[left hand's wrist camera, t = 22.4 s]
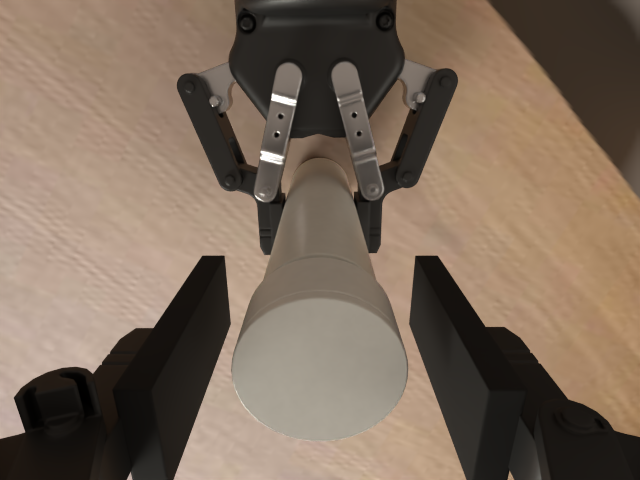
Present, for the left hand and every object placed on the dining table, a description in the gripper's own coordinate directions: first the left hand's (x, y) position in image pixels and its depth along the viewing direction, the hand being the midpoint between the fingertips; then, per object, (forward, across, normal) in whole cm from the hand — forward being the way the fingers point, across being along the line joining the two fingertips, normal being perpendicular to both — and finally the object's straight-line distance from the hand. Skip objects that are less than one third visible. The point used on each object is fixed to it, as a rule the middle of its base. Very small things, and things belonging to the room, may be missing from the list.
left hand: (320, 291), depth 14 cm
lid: (-4, 0, 0) cm, 4 cm away
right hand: (+9, 0, -3) cm, 10 cm away
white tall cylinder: (+15, 0, 0) cm, 15 cm away
